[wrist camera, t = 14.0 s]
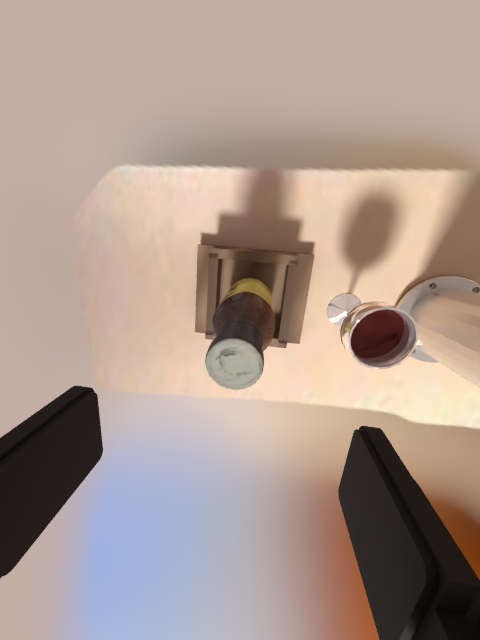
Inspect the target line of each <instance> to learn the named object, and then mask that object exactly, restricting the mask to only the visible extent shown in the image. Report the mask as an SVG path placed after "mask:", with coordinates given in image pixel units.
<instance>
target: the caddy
mask: <svg viewBox="0 0 480 640" xmlns="http://www.w3.org/2000/svg"><path fill="white" fill-rule="evenodd" d="M313 260H314V254H303V253H292V252H280V251H269V250H257V249H246V248H234V247H223V246H211V245H200V244H198V257H197V290H196V322H195V332H199V333H206V336H205V339H211V340H214V339H215V338H216V336H215V334H214V331H213V327H212V319H213V315H214V313H215V311H216V309H217V307H218V305H219V304H220V303H221V301H222V299H223V298H224V297H225V295H226V294H227V293H228V291H229V290H230V288H231V287H232V286H233V284H235V283H236V282H237V281H239V280H241V279H244V278H248V277H253V278H256V279H259V280H260V281H262V282H263V283H265V284H266V285H267V286H268V288H269V289H270V291H271V294H272V300H273V308H274V317H275V323H274V328H275V330H274V335H273V338H272V341H271V343H270V344H269V346H272V347H281V348H286V345H287V342H288V343H297V344H300V338H301V332H302V326H303V320H304V314H305V308H306V302H307V296H308V290H309V284H310V278H311V272H312V266H313Z"/></svg>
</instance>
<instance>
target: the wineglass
mask: <svg viewBox="0 0 480 640" xmlns="http://www.w3.org/2000/svg"><path fill="white" fill-rule="evenodd" d="M327 312H328V317H329V319H330V320H331V321H332V322H333V323H334V324H336V325H338V326H341V330H340V333H341V341H342V343H343V345H344V347H345V348H346V350H347V351H348V352H349V353H350V354H351V355H352V356H353V357H354V358H355V359H356V360H357V361H358V362H359V363H360V364H362V365H364V366H366V367H368V368H374V369H385V368H390V367H393V366H395V365H398V364H400V363H401V362H403V361H404V360H405V359H407V358H408V357H409V356H410V355H411V353H412V352H413V351H414V349H415V347H416V344H417V342H418V327H417V325H416V322H415V320H414V319H413V318H412V317H411V316H410V315H409V314H408V313H407V312H404V311H402V310H400V309H398V308H397V307H395V306H393V305H391V304H389V303H383V302H369V303H364V304H361V301H360V300H359V299H358V298H357V297H356V296H354V295H352V294H340V295H338V296H336V297H335V298H334V299H333V300H332V301H331V302H330V304H329V305H328V310H327Z"/></svg>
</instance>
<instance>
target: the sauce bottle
mask: <svg viewBox="0 0 480 640" xmlns="http://www.w3.org/2000/svg"><path fill="white" fill-rule="evenodd" d="M274 323H275V317H274V308H273V300H272V294H271V291H270V289H269V288H268V286H267V285H266V284H265V283H263V282H262V281H260V280H259V279H256V278H253V277H248V278H244V279H241V280H239V281H237V282H236V283H235V284H233V286H232V287H231V288H230V290H229V291H228V293H227V294H226V295H225V297H224V298H223V299H222V301H221V303H220V304H219V305H218V307H217V309H216V311H215V313H214V315H213V319H212V327H213V331H214V334H215V336H216V338H215V339H214V340H213V341H212V343H211V345H210V347H209V349H208V352H207V355H206V360H205V363H206V368H207V371H208V373H209V376H210V377H211V378H212V379H213V380H214V381H215V382H216V383H217V384H219V385H220V386H222V387H225V388H227V389H233V390H239V389H244V388H247V387H250V386H252V385H253V384H254V383H255V382H256V381H257V380H258V379H259V378H260V376H261V374H262V371H263V366H264V356H263V351H264V350H265V349H266V348H267V347H268V346H269V344H270V343H271V341H272V338H273V335H274V330H275V328H274Z"/></svg>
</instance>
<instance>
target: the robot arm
mask: <svg viewBox="0 0 480 640" xmlns="http://www.w3.org/2000/svg"><path fill="white" fill-rule="evenodd" d="M429 285H430V286H429ZM396 307H397V308H398V309H400V310H402V311H404V312H407V313H408V314H409V315H410V316H411V317H412V318H413V319H414V320H415V322H416V325H417V327H418V342H417V344H416V347H415V349H414V351H413V352H412V353H411V355H410V357H412V358H414V359H416V360H420V361H423V362H430V363H438V362H440V363H441V364H443V365H444V366H446V367H447V368H449V369H451V370H452V371H454V372H455V373H457V374H458V375H460V376H461V377H463V378H464V379H466V380H468V381H469V382H471V383H472V384H474V385H475V386H477V387H478V388H480V285H479V284H478V283H476V282H475V281H472V280H470V279H467V278H463V277H458V276H439V277H435V278H431V279H428V280H426V281H424V282H421V283H419V284H418V285H416V286H415V287H413V288H412V289H411V290H410V291H408V292H407V293H406V294H405V295H404V296H403V298H402V299H401V300H400V301H399V303H398V305H397V306H396ZM102 452H103V446H102V436H101V427H100V417H99V407H98V398H97V394H96V393H95V392H94V390H93V389H92V388H89V387H82V386H74V387H72V388H70V389H69V390H68V391H66V392H65V393H63V394H62V395H60V396H59V397H58V398H56V399H55V400H53V401H52V402H51V403H49V404H48V405H46V406H45V407H43V408H42V409H41V410H39V411H38V412H36V413H35V414H34V415H32V416H31V417H29V418H28V419H27V420H25V421H24V422H22V423H21V424H19V425H18V426H17V427H15V428H14V429H12V430H11V431H10V432H8V433H7V434H6V435H4V436H2V437H1V438H0V578H1V577H2V576H5V575H7V574H8V573H9V572H10V571H11V570H12V569H13V568H14V567H15V566H16V564H17V563H18V562H19V561H20V559H21V558H22V557H23V556H24V554H25V553H26V552H27V551H28V549H29V548H30V547H31V545H32V544H33V543H34V542H35V540H36V539H37V538H38V537H39V536H40V534H41V533H42V532H43V530H44V529H45V528H46V527H47V525H48V524H49V523H50V521H51V520H52V519H53V518H54V517H55V515H56V514H57V513H58V512H59V510H60V509H61V508H62V506H63V505H64V504H65V503H66V501H67V500H68V499H69V498H70V496H71V495H72V494H73V493H74V491H75V490H76V489H77V488H78V486H79V485H80V484H81V483H82V481H83V480H84V479H85V478H86V476H87V475H88V474H89V473H90V471H91V470H92V469H93V468H94V466H95V465H96V464H97V462H98V461H99V460H100V458H101V456H102ZM339 500H340V504H341V507H342V511H343V514H344V518H345V521H346V525H347V528H348V532H349V534H350V538H351V542H352V545H353V549H354V552H355V556H356V559H357V562H358V566H359V570H360V573H361V576H362V579H363V583H364V587H365V590H366V594H367V597H368V601H369V604H370V608H371V611H372V614H373V618H374V621H375V625H376V628H377V632H378V635H379V639H380V640H480V580H479V578H478V577H477V575H476V574H475V572H474V571H473V569H472V568H471V566H470V564H469V563H468V561H467V560H466V558H465V557H464V555H463V554H462V552H461V550H460V549H459V547H458V546H457V544H456V543H455V541H454V540H453V538H452V537H451V535H450V533H449V532H448V530H447V529H446V528H445V526H444V524H443V522H442V521H441V519H440V518H439V516H438V515H437V513H436V512H435V510H434V509H433V507H432V505H431V504H430V502H429V501H428V499H427V498H426V496H425V494H424V493H423V491H422V490H421V488H420V487H419V485H418V484H417V483H416V481H415V480H414V479H413V478H412V476H411V475H410V473H409V472H408V470H407V469H406V467H405V466H404V464H403V462H402V461H401V459H400V458H399V456H398V454H397V453H396V451H395V450H394V448H393V447H392V445H391V443H390V442H389V440H388V439H387V437H386V436H385V434H384V432H383V431H382V430H381V429H380V428H374V427H368V426H361V427H360V428H359V430H355V431H354V433H353V437H352V441H351V445H350V448H349V452H348V456H347V459H346V463H345V467H344V471H343V475H342V478H341V482H340V486H339Z"/></svg>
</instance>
